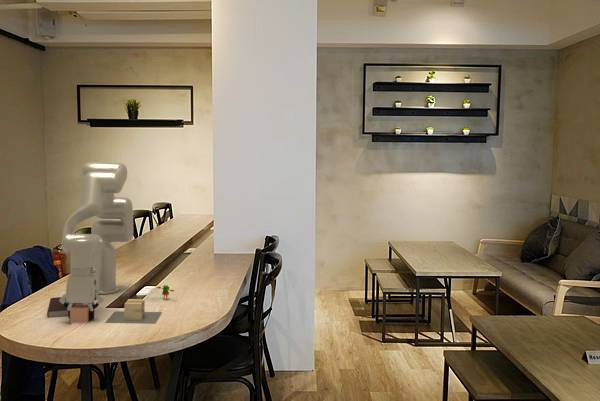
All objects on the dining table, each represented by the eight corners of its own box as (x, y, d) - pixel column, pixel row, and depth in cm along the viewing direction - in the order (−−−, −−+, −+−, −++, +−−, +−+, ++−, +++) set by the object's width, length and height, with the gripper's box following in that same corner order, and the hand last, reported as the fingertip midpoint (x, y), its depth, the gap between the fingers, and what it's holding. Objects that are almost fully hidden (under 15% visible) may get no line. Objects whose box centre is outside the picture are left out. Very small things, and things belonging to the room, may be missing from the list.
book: (46, 319, 200) (46, 310, 199) (50, 304, 218) (50, 296, 217) (83, 316, 204) (83, 308, 204) (83, 302, 222) (83, 294, 222)
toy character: (167, 305, 223) (168, 289, 222) (147, 300, 229) (147, 284, 228) (186, 299, 232) (186, 284, 232) (166, 295, 238) (166, 280, 238)
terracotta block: (75, 319, 199) (75, 303, 198) (92, 320, 199) (92, 304, 198) (69, 325, 193) (70, 308, 192) (87, 325, 193) (87, 308, 193)
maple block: (128, 314, 204) (128, 299, 203) (144, 314, 204) (144, 299, 204) (124, 319, 198) (124, 303, 197) (141, 319, 198) (141, 303, 198)
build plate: (114, 313, 208) (114, 311, 207) (162, 314, 209) (162, 312, 209) (104, 325, 194) (104, 322, 194) (155, 326, 195) (155, 323, 195)
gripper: (109, 270, 199) (108, 317, 200) (60, 269, 197) (60, 317, 199) (103, 274, 191) (102, 324, 193) (53, 273, 190) (52, 323, 191)
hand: (81, 320), depth 196 cm, fingers closed on terracotta block, 6 cm apart
